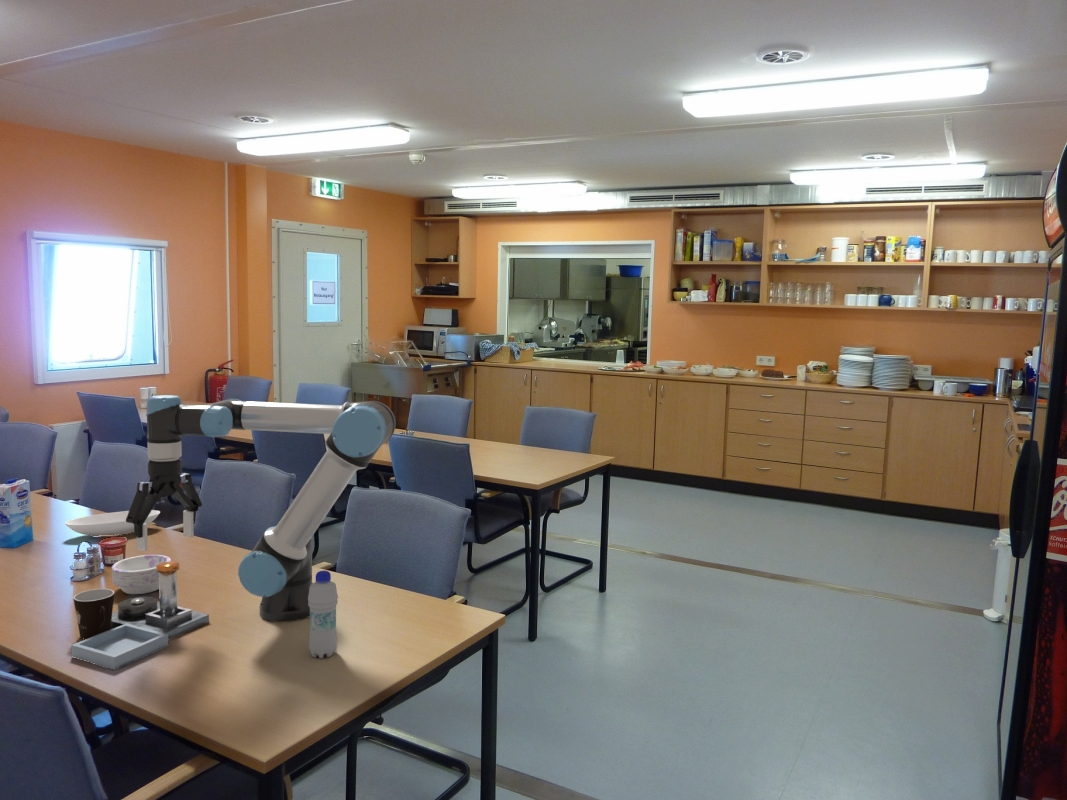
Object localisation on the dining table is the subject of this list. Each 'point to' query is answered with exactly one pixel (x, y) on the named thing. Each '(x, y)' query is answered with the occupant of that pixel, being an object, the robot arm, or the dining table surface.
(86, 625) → the coffee mug
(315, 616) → the bottle
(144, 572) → the paper bowls
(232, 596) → the dining table surface
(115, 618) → the plate
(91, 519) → the bowl
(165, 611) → the pin
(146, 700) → the dining table surface
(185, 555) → the dining table surface
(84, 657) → the tray
